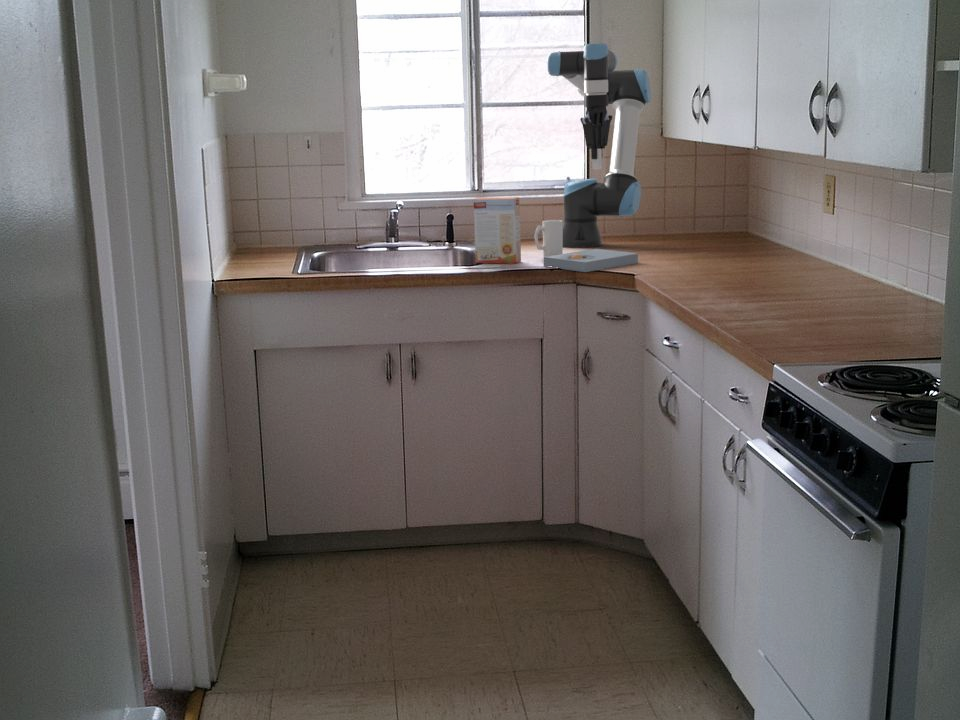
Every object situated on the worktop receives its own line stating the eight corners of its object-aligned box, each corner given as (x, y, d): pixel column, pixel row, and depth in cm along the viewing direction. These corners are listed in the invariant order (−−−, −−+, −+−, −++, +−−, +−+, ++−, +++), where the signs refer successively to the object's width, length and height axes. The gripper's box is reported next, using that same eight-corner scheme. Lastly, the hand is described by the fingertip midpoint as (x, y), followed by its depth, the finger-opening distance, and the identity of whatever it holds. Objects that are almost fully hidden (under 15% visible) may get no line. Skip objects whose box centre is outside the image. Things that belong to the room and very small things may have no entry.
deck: (595, 257, 343) (595, 248, 342) (637, 262, 329) (637, 253, 329) (543, 266, 327) (543, 257, 327) (585, 272, 314) (585, 262, 313)
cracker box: (521, 261, 339) (520, 196, 334) (516, 264, 334) (515, 198, 329) (480, 260, 344) (478, 196, 339) (474, 263, 338) (473, 198, 333)
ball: (578, 262, 328) (571, 252, 326) (588, 260, 325) (581, 250, 323) (572, 270, 325) (566, 260, 324) (582, 268, 323) (575, 258, 321)
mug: (557, 255, 351) (557, 219, 349) (566, 257, 345) (566, 221, 342) (530, 257, 348) (529, 221, 345) (539, 260, 342) (538, 223, 339)
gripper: (601, 93, 337) (601, 166, 344) (573, 95, 329) (574, 170, 335) (618, 92, 332) (619, 167, 338) (591, 95, 323) (592, 171, 330)
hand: (597, 169), depth 337 cm, fingers closed
